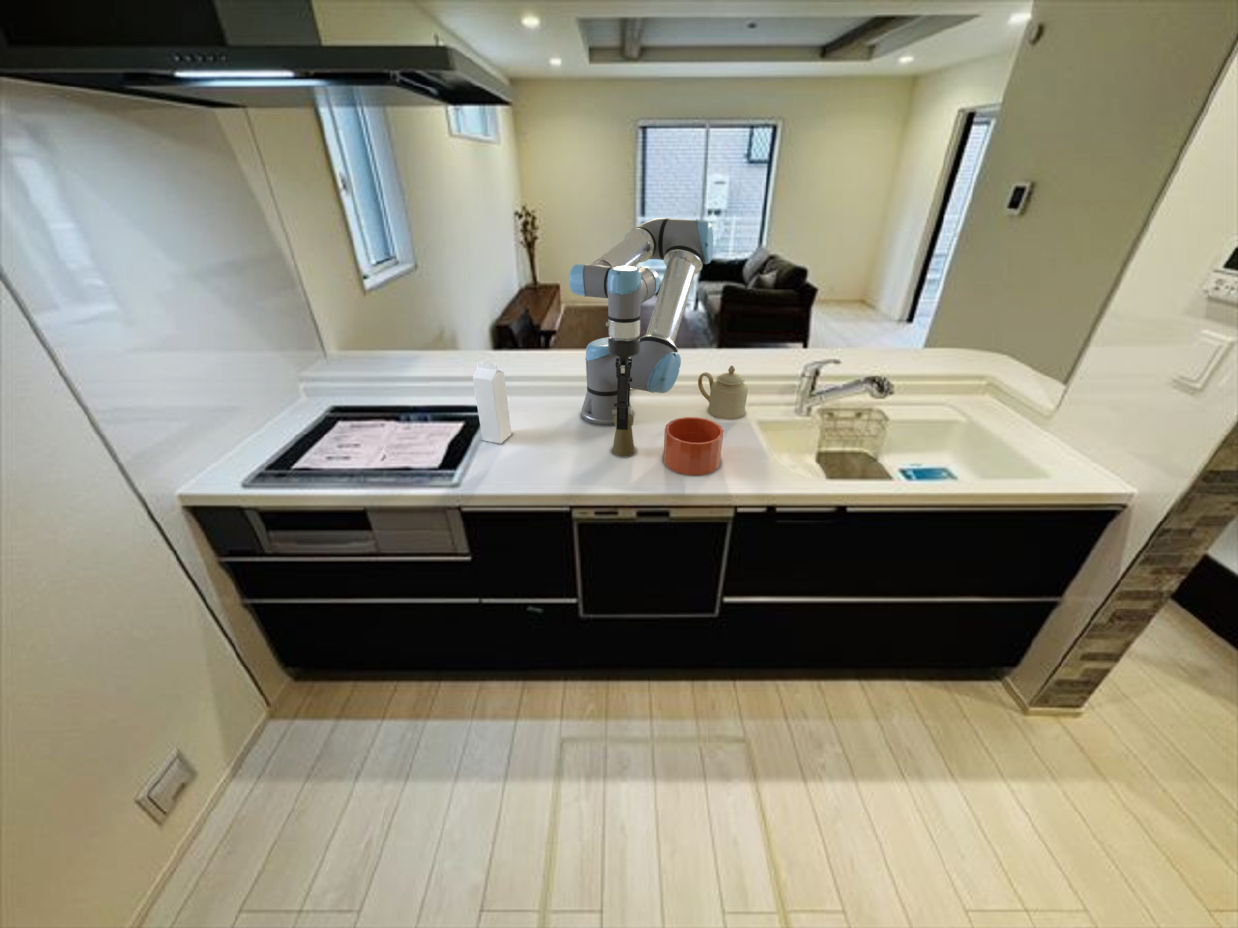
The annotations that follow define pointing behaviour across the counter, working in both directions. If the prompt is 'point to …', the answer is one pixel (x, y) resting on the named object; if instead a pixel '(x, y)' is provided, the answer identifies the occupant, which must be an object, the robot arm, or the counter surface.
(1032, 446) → the counter surface
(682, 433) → the pot
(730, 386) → the beige ceramic rounded vessel
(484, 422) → the milk
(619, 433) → the cork
